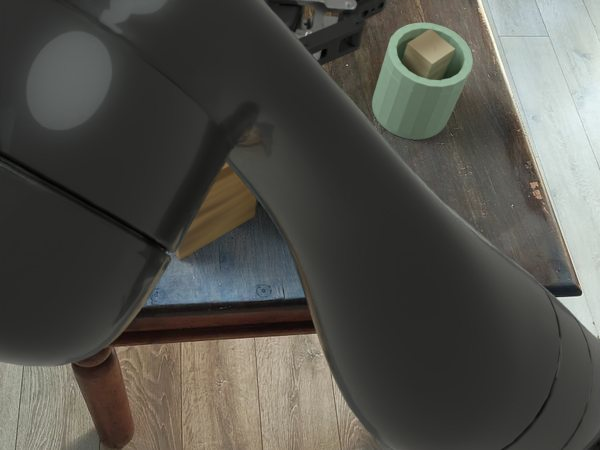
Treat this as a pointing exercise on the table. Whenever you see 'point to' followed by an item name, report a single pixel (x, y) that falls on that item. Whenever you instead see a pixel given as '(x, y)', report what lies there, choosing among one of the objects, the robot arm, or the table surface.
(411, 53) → the block
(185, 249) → the stand
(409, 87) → the jar
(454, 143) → the table surface
